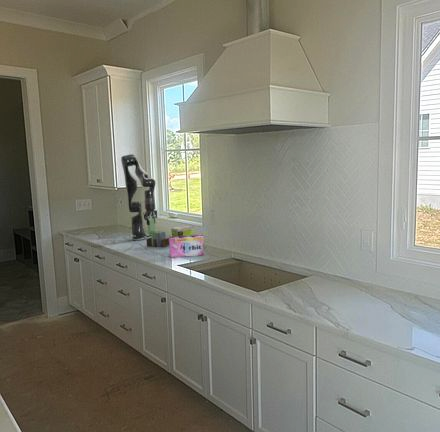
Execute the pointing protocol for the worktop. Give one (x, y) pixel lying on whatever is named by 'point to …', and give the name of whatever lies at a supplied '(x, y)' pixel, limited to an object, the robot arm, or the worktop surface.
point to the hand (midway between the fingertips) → (151, 224)
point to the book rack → (149, 243)
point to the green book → (151, 226)
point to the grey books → (160, 238)
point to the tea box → (182, 231)
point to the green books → (154, 235)
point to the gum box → (186, 245)
